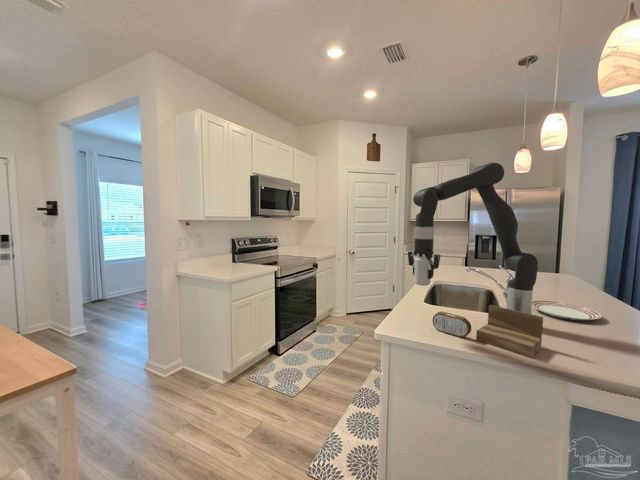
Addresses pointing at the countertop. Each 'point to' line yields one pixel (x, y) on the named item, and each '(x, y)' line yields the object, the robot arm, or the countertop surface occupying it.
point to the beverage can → (421, 271)
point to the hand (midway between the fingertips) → (422, 277)
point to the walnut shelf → (512, 331)
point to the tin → (451, 324)
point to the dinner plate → (565, 310)
